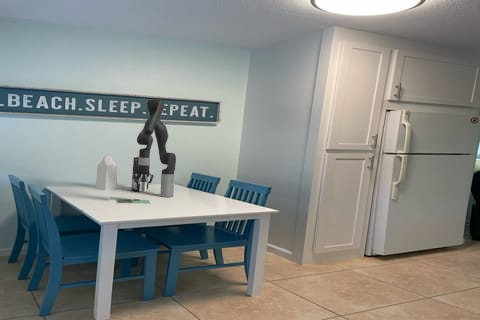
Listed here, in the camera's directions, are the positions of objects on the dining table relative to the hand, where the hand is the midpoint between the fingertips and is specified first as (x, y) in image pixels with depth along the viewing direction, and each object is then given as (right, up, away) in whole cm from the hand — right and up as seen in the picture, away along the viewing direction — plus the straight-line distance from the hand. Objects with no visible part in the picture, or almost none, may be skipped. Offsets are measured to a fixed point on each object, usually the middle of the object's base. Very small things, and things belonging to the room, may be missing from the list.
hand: (142, 189), depth 307 cm
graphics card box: (-15, -5, +58) cm, 60 cm away
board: (-6, -9, -1) cm, 11 cm away
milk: (-41, -3, +56) cm, 70 cm away
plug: (0, -1, 0) cm, 1 cm away
